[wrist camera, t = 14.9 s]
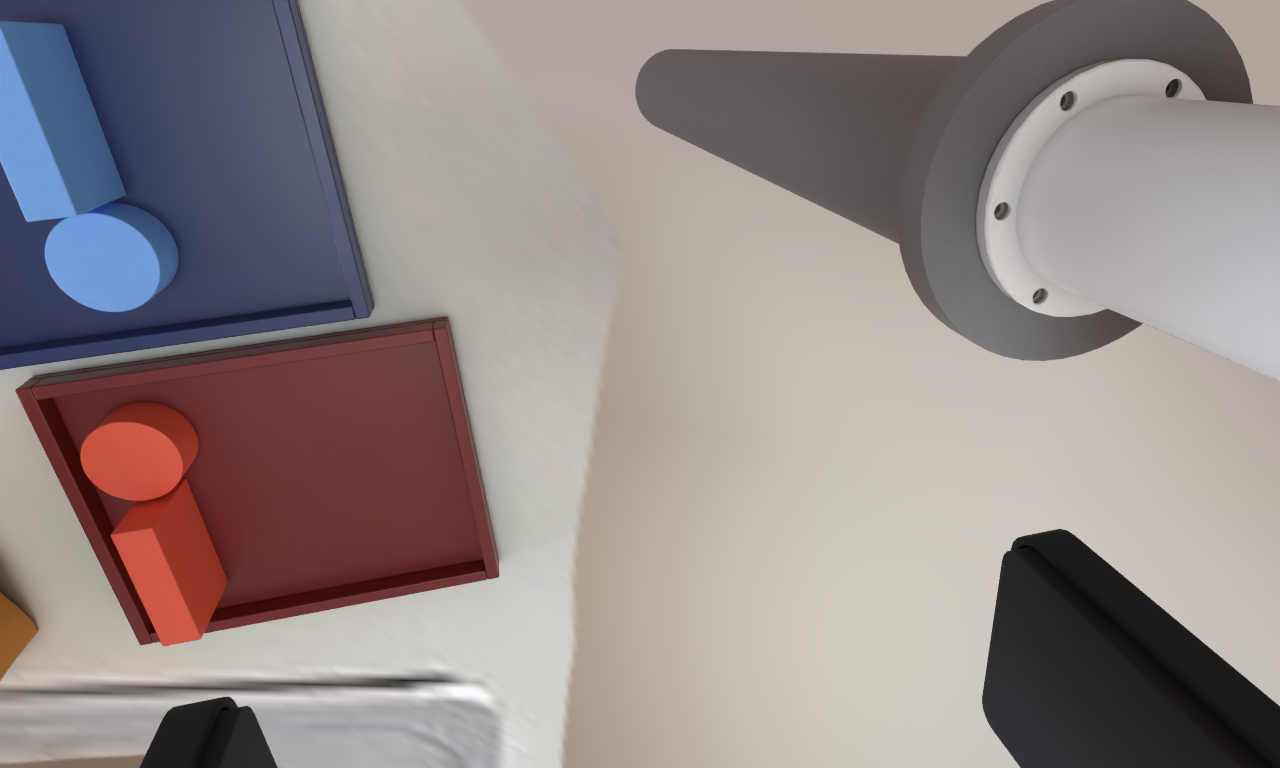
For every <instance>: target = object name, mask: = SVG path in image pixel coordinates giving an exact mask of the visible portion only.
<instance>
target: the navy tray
mask: <svg viewBox="0 0 1280 768" xmlns="http://www.w3.org/2000/svg"><path fill="white" fill-rule="evenodd" d="M0 21H11V22H32V23H53V24H62V25H63V26H64V29H65V31H66V34H67V37H68V39H69V42H70V45H71V47H72V50H73V53H74V55H75V58H76V61H77V63H78V66H79V69H80V71H81V74H82V77H83V79H84V82H85V85H86V87H87V90H88V93H89V95H90V98H91V101H92V103H93V106H94V109H95V111H96V114H97V117H98V119H99V122H100V125H101V127H102V130H103V133H104V135H105V138H106V141H107V143H108V146H109V149H110V151H111V154H112V157H113V159H114V162H115V165H116V167H117V170H118V173H119V175H120V178H121V181H122V183H123V186H124V189H125V191H126V195H125V196H123V197H121V198H118V199H116V200H114V201H111V202H109V203H123V204H128V205H132V206H135V207H138V208H140V209H142V210H144V211H146V212H148V213H150V214H151V215H153V216H154V217H156V218H157V219H158V220H159V221H160V222H161V223H162V224H163V225H164V226H165V227H166V228H167V229H168V231H169V232H170V233H171V235H172V237H173V239H174V241H175V243H176V246H177V249H178V255H179V264H178V269H177V272H176V275H175V277H174V279H173V280H172V281H171V283H170V284H169V285H168V286H167V287H166V288H164V289H163V290H162V291H160V292H159V293H158V294H156V295H155V296H154V297H152V298H151V299H150V300H149V301H147V302H146V303H144V304H143V305H141V306H139V307H137V308H135V309H132V310H128V311H123V312H107V311H100V310H96V309H93V308H90V307H87V306H85V305H83V304H81V303H79V302H77V301H76V300H74V299H72V298H71V297H70V296H68V295H67V294H66V293H65V292H64V291H63V290H62V289H61V288H60V287H59V286H58V285H57V284H56V282H55V281H54V279H53V278H52V276H51V274H50V272H49V270H48V267H47V265H46V260H45V244H46V241H47V238H48V236H49V234H50V232H51V231H52V229H53V228H54V227H55V226H56V225H57V224H58V223H59V222H61V221H62V220H63V219H65V218H67V217H65V218H57V219H48V220H40V221H31V222H27V221H26V219H25V217H24V214H23V212H22V210H21V208H20V205H19V203H18V201H17V198H16V196H15V194H14V192H13V189H12V187H11V185H10V182H9V180H8V178H7V176H6V173H5V171H4V169H3V166H2V164H1V162H0V370H2V369H9V368H16V367H23V366H30V365H37V364H44V363H51V362H58V361H65V360H72V359H79V358H86V357H93V356H100V355H108V354H115V353H122V352H129V351H136V350H143V349H150V348H157V347H164V346H171V345H178V344H185V343H192V342H199V341H206V340H213V339H220V338H227V337H234V336H242V335H249V334H256V333H263V332H270V331H277V330H284V329H291V328H298V327H305V326H312V325H319V324H326V323H333V322H340V321H347V320H354V319H361V318H368V317H370V315H371V313H372V311H373V309H374V304H373V300H372V296H371V292H370V288H369V284H368V280H367V276H366V272H365V268H364V264H363V260H362V256H361V252H360V248H359V244H358V240H357V236H356V232H355V228H354V224H353V220H352V216H351V212H350V208H349V204H348V200H347V196H346V192H345V188H344V184H343V181H342V177H341V173H340V169H339V165H338V161H337V157H336V153H335V149H334V145H333V141H332V137H331V133H330V129H329V125H328V121H327V117H326V113H325V109H324V105H323V101H322V97H321V93H320V89H319V85H318V81H317V77H316V73H315V69H314V65H313V61H312V57H311V54H310V50H309V46H308V42H307V38H306V34H305V30H304V26H303V22H302V18H301V14H300V10H299V6H298V2H297V0H0Z"/></svg>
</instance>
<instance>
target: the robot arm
mask: <svg viewBox="0 0 1280 768" xmlns="http://www.w3.org/2000/svg"><path fill="white" fill-rule="evenodd" d="M976 233H977V242H978V247H979V251H980V255H981V259H982V262H983V264H984V266H985V268H986V270H987V272H988V274H989V276H990V278H991V279H992V280H993V282H994V283H995V284H996V285H997V287H998V288H999V289H1000V290H1001V291H1002V292H1003V293H1004V294H1005V295H1007V296H1008V297H1010V298H1011V299H1012V300H1014V301H1015V302H1016V303H1018V304H1020V305H1022V306H1024V307H1026V308H1028V309H1030V310H1033V311H1035V312H1039V313H1042V314H1046V315H1050V316H1059V317H1075V316H1081V315H1088V314H1093V313H1096V312H1099V311H1102V310H1104V309H1107V308H1108V309H1110V310H1113V311H1115V312H1117V313H1120V314H1122V315H1124V316H1127V317H1129V318H1131V319H1134V320H1136V321H1139V322H1141V323H1143V324H1146V325H1148V326H1150V327H1153V328H1155V329H1158V330H1160V331H1162V332H1165V333H1167V334H1169V335H1172V336H1174V337H1176V338H1179V339H1181V340H1183V341H1186V342H1188V343H1190V344H1193V345H1195V346H1197V347H1200V348H1202V349H1205V350H1207V351H1209V352H1212V353H1214V354H1216V355H1219V356H1221V357H1223V358H1226V359H1228V360H1230V361H1233V362H1235V363H1238V364H1240V365H1242V366H1245V367H1247V368H1249V369H1252V370H1254V371H1257V372H1259V373H1261V374H1264V375H1266V376H1268V377H1271V378H1273V379H1275V380H1278V381H1280V106H1270V105H1269V106H1268V105H1257V104H1245V103H1232V102H1219V101H1207V100H1206V98H1205V96H1204V95H1203V93H1202V91H1201V89H1200V88H1199V87H1198V86H1197V85H1196V84H1195V83H1194V82H1193V81H1192V80H1191V79H1190V78H1189V77H1188V76H1187V75H1186V74H1184V73H1183V72H1181V71H1179V70H1177V69H1176V68H1174V67H1172V66H1171V65H1168V64H1165V63H1161V62H1157V61H1153V60H1149V59H1128V58H1123V59H1114V60H1105V61H1100V62H1097V63H1094V64H1091V65H1088V66H1085V67H1082V68H1079V69H1077V70H1075V71H1073V72H1072V73H1070V74H1068V75H1066V76H1064V77H1062V78H1061V79H1059V80H1057V81H1055V82H1054V83H1053V84H1052V85H1050V86H1049V87H1048V88H1046V89H1045V90H1044V91H1043V92H1041V93H1040V94H1039V95H1038V96H1036V97H1035V98H1034V99H1033V100H1032V101H1031V102H1030V103H1029V104H1028V105H1027V107H1026V108H1025V109H1024V110H1023V111H1022V112H1021V113H1020V114H1019V115H1018V116H1017V117H1016V118H1015V120H1014V121H1013V123H1012V124H1011V126H1010V127H1009V128H1008V130H1007V131H1006V133H1005V134H1004V136H1003V137H1002V139H1001V140H1000V142H999V144H998V146H997V148H996V150H995V152H994V154H993V156H992V158H991V160H990V162H989V164H988V166H987V169H986V172H985V175H984V179H983V182H982V185H981V188H980V191H979V198H978V205H977V212H976ZM982 704H983V710H984V713H985V716H986V718H987V721H988V723H989V725H990V726H991V728H992V729H993V731H994V732H995V734H996V735H997V736H998V738H999V739H1000V740H1001V742H1002V743H1003V744H1004V746H1005V747H1006V748H1007V750H1008V751H1009V752H1010V754H1011V755H1012V756H1013V758H1014V759H1015V761H1016V762H1017V763H1018V765H1019V766H1020V767H1021V768H1280V706H1279V705H1277V704H1276V703H1275V702H1274V701H1273V700H1271V699H1270V698H1269V697H1268V696H1267V695H1265V694H1264V693H1263V692H1262V691H1261V690H1259V689H1258V688H1257V687H1256V686H1255V685H1253V684H1252V683H1251V682H1250V681H1249V680H1247V679H1246V678H1245V677H1244V676H1243V675H1241V674H1240V673H1239V672H1238V671H1237V670H1235V669H1234V668H1233V667H1232V666H1231V665H1229V664H1228V663H1227V662H1226V661H1224V660H1223V659H1222V658H1221V657H1220V656H1219V655H1217V654H1216V653H1215V652H1214V651H1213V650H1211V649H1210V648H1209V647H1208V646H1206V645H1205V644H1204V643H1203V642H1202V641H1201V640H1199V639H1198V638H1197V637H1196V636H1195V635H1193V634H1192V633H1191V632H1190V631H1189V630H1187V629H1186V628H1185V627H1184V626H1183V625H1181V624H1180V623H1179V622H1178V621H1177V620H1175V619H1174V618H1173V617H1172V616H1171V615H1169V614H1168V613H1167V612H1166V611H1165V610H1163V609H1162V608H1161V607H1160V606H1159V605H1157V604H1156V603H1155V602H1154V601H1152V600H1151V599H1150V598H1149V597H1148V596H1147V595H1145V594H1144V593H1143V592H1142V591H1140V590H1139V589H1138V588H1137V587H1136V586H1134V585H1133V584H1132V583H1131V582H1130V581H1129V580H1127V579H1126V578H1125V577H1124V576H1123V575H1121V574H1120V573H1119V572H1118V571H1117V570H1115V569H1114V568H1113V567H1112V566H1111V565H1109V564H1108V563H1107V562H1106V561H1105V560H1103V559H1102V558H1101V557H1100V556H1098V555H1097V554H1096V553H1095V552H1094V551H1093V550H1091V549H1090V548H1089V547H1088V546H1087V545H1085V544H1084V543H1083V542H1082V541H1081V540H1079V539H1078V538H1077V537H1076V536H1075V535H1073V534H1072V533H1070V532H1068V531H1067V530H1062V529H1057V530H1052V531H1047V532H1042V533H1037V534H1032V535H1027V536H1023V537H1019V538H1017V539H1016V540H1015V541H1014V542H1013V545H1012V548H1011V551H1008V552H1006V553H1005V554H1004V556H1003V560H1002V566H1001V573H1000V580H999V586H998V593H997V600H996V607H995V614H994V621H993V628H992V635H991V641H990V649H989V656H988V662H987V669H986V676H985V682H984V689H983V696H982ZM140 768H277V765H276V763H275V761H274V758H273V756H272V754H271V751H270V749H269V747H268V744H267V742H266V740H265V737H264V735H263V733H262V730H261V728H260V726H259V723H258V721H257V719H256V716H255V714H254V712H253V711H252V709H251V708H250V707H248V706H244V707H239V708H238V706H237V705H236V703H235V702H234V700H233V699H231V698H230V697H222V698H217V699H212V700H207V701H202V702H197V703H192V704H187V705H182V706H177V707H173V708H172V709H170V710H169V711H168V712H167V713H166V715H165V717H164V718H163V720H162V722H161V724H160V726H159V728H158V730H157V732H156V734H155V736H154V739H153V741H152V743H151V745H150V747H149V749H148V751H147V753H146V755H145V757H144V759H143V762H142V764H141V766H140Z"/></svg>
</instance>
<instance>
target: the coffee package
mask: <svg viewBox="0 0 1280 768" xmlns="http://www.w3.org/2000/svg"><path fill="white" fill-rule="evenodd" d="M37 632H38V631H37V628H36V624H35V623H34V622H33V620H32V619H31V618H30V617H29V616H27V615H26V614H25V613H24V612H23V611H22V610H21V609H20V608H19V607H18V606H17V605H16V604H14V603H13V602H12V601H10V600H9V599H8V598H6V597H5V596H4V595H3V594H2V593H1V592H0V681H1V679H2V678H3V676H4V675H5V673H6V672H7V670H8V669H9V667H10V666H11V664H12V663H13V662H14V661H15V659H16V658H17V657H18V655H19V654H20V653H21V652H22V651H23V649H24V648H25V647H26V646H27V644H28V643H29V642H30V641H31V639H32V638H33V637H34V636H35V635H36V633H37Z"/></svg>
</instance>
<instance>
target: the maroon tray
mask: <svg viewBox="0 0 1280 768" xmlns="http://www.w3.org/2000/svg"><path fill="white" fill-rule="evenodd" d="M16 393H17V395H18V397H19V399H20V401H21V403H22V405H23V407H24V410H25V412H26V414H27V416H28V418H29V420H30V422H31V424H32V426H33V428H34V430H35V432H36V434H37V436H38V438H39V440H40V442H41V444H42V446H43V448H44V450H45V452H46V454H47V456H48V458H49V460H50V462H51V464H52V466H53V469H54V471H55V473H56V475H57V477H58V479H59V481H60V483H61V485H62V487H63V489H64V491H65V493H66V495H67V497H68V499H69V501H70V503H71V505H72V507H73V509H74V511H75V513H76V515H77V517H78V519H79V521H80V523H81V525H82V528H83V530H84V532H85V534H86V536H87V538H88V540H89V542H90V544H91V546H92V548H93V550H94V552H95V554H96V556H97V558H98V560H99V562H100V564H101V566H102V568H103V570H104V572H105V574H106V576H107V578H108V580H109V582H110V585H111V587H112V589H113V591H114V593H115V595H116V597H117V599H118V601H119V603H120V605H121V607H122V609H123V611H124V613H125V615H126V617H127V619H128V621H129V623H130V625H131V627H132V629H133V631H134V633H135V635H136V637H137V639H138V641H139V644H140V645H145V644H151V643H153V642H154V643H156V642H161V641H160V639H159V637H158V635H157V632H156V630H155V628H154V626H153V624H152V622H151V620H150V618H149V616H148V614H147V611H146V609H145V607H144V605H143V603H142V601H141V599H140V597H139V595H138V592H137V590H136V588H135V586H134V584H133V582H132V580H131V578H130V576H129V574H128V571H127V569H126V567H125V565H124V563H123V561H122V559H121V557H120V555H119V552H118V550H117V548H116V546H115V544H114V542H113V540H112V538H111V534H112V532H113V531H114V530H115V529H116V527H117V526H118V525H119V523H120V522H121V521H122V519H123V518H124V517H125V515H126V514H127V513H128V512H129V510H130V509H131V508H132V506H133V505H134V504H135V502H136V501H132V500H125V499H121V498H117V497H115V496H112V495H110V494H108V493H106V492H104V491H103V490H101V489H99V488H98V487H97V486H96V485H95V484H93V482H92V481H91V480H90V479H89V478H88V477H87V475H86V474H85V472H84V470H83V467H82V464H81V459H80V453H81V447H82V444H83V442H84V440H85V439H86V437H87V436H88V435H89V434H90V433H91V432H92V431H93V430H94V429H95V428H96V427H97V426H98V425H99V424H100V423H101V422H102V421H103V420H104V419H105V418H106V417H107V416H108V415H109V414H110V413H111V412H112V411H114V410H115V409H117V408H118V407H120V406H123V405H125V404H128V403H133V402H154V403H158V404H162V405H165V406H168V407H170V408H172V409H174V410H175V411H177V412H179V413H180V414H181V415H183V416H184V417H185V418H186V419H187V420H188V421H189V422H190V424H191V425H192V427H193V428H194V430H195V432H196V435H197V438H198V451H197V455H196V458H195V459H194V461H193V462H192V464H191V465H190V467H189V468H188V470H187V471H186V473H185V474H184V475H183V477H182V478H181V479H183V478H186V479H187V481H188V484H189V486H190V489H191V491H192V494H193V496H194V499H195V501H196V504H197V506H198V508H199V511H200V513H201V516H202V518H203V521H204V523H205V526H206V528H207V531H208V533H209V536H210V538H211V540H212V543H213V545H214V548H215V550H216V553H217V555H218V558H219V560H220V563H221V565H222V568H223V570H224V572H225V575H226V577H227V580H228V583H227V585H226V587H225V589H224V591H223V594H222V596H221V598H220V600H219V602H218V604H217V606H216V608H215V610H214V612H213V614H212V617H211V619H210V621H209V623H208V625H207V627H206V629H205V631H204V633H208V632H214V631H219V630H224V629H230V628H235V627H240V626H245V625H251V624H256V623H261V622H266V621H272V620H277V619H282V618H287V617H293V616H298V615H303V614H309V613H314V612H319V611H324V610H330V609H335V608H340V607H345V606H351V605H356V604H361V603H366V602H372V601H377V600H382V599H387V598H393V597H398V596H403V595H409V594H414V593H419V592H424V591H430V590H435V589H440V588H445V587H451V586H456V585H461V584H466V583H472V582H477V581H482V580H487V578H488V579H493V578H498V577H499V559H498V554H497V549H496V545H495V540H494V535H493V530H492V526H491V521H490V516H489V511H488V506H487V502H486V497H485V492H484V487H483V483H482V478H481V473H480V468H479V463H478V459H477V454H476V449H475V444H474V439H473V435H472V430H471V425H470V420H469V416H468V411H467V406H466V401H465V396H464V392H463V387H462V382H461V377H460V373H459V368H458V363H457V358H456V353H455V349H454V344H453V339H452V334H451V330H450V325H449V320H448V317H444V318H437V319H430V320H423V321H416V322H409V323H402V324H396V325H389V326H382V327H375V328H368V329H361V330H354V331H347V332H340V333H333V334H326V335H319V336H312V337H305V338H298V339H291V340H284V341H277V342H270V343H263V344H256V345H249V346H242V347H235V348H228V349H221V350H215V351H208V352H201V353H194V354H187V355H180V356H173V357H166V358H159V359H152V360H145V361H138V362H131V363H124V364H117V365H110V366H103V367H96V368H89V369H82V370H75V371H68V372H61V373H54V374H47V375H40V376H34V377H32V378H30V379H29V380H28V381H27V382H25V383H24V384H23V385H21V386H20V387H19V388H17V389H16Z"/></svg>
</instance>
